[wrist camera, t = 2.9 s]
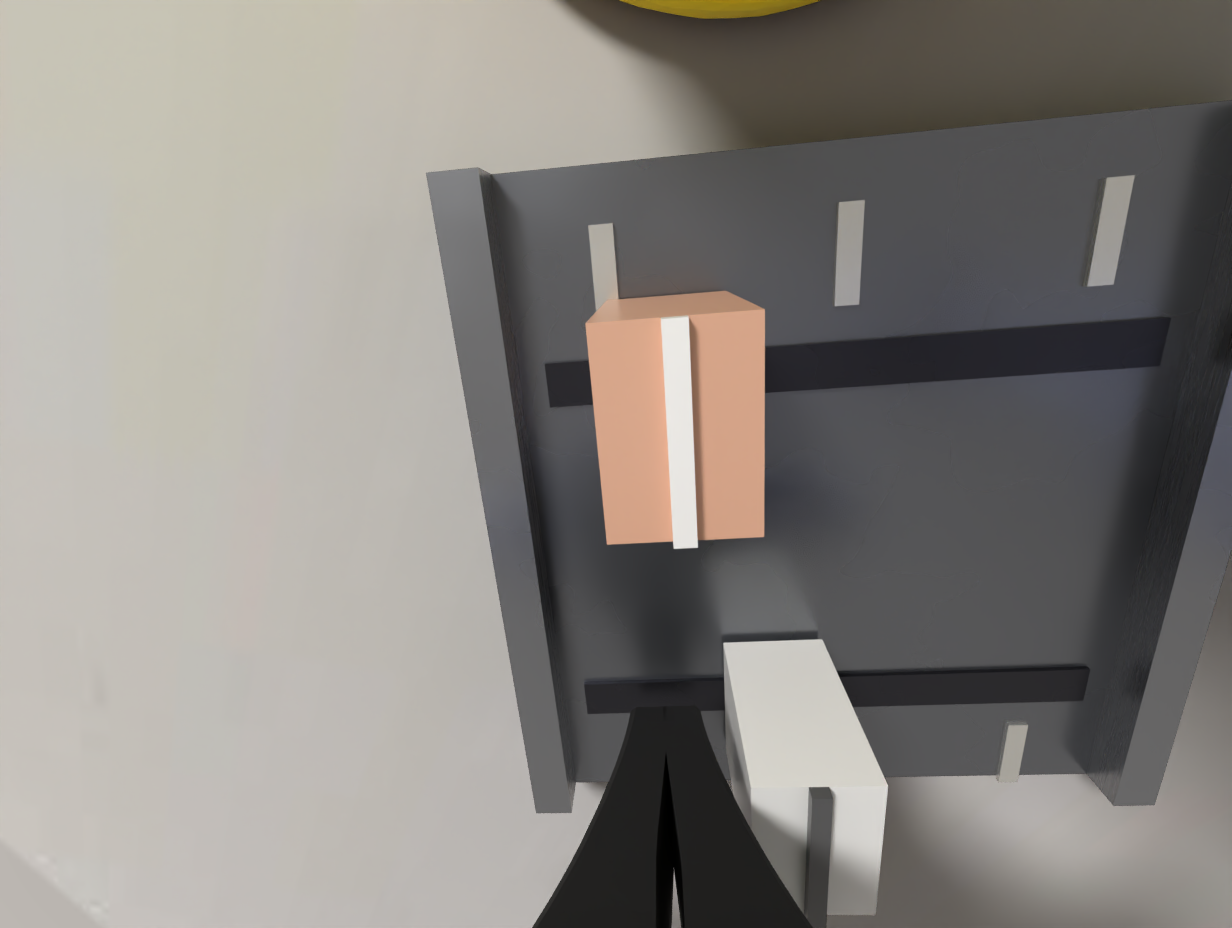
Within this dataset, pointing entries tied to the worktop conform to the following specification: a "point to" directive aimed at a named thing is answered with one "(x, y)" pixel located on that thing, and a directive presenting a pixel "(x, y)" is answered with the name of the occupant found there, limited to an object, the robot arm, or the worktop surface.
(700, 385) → the fader terracotta
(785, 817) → the fader white
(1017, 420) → the fader board
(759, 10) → the stacking cups
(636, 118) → the worktop surface
